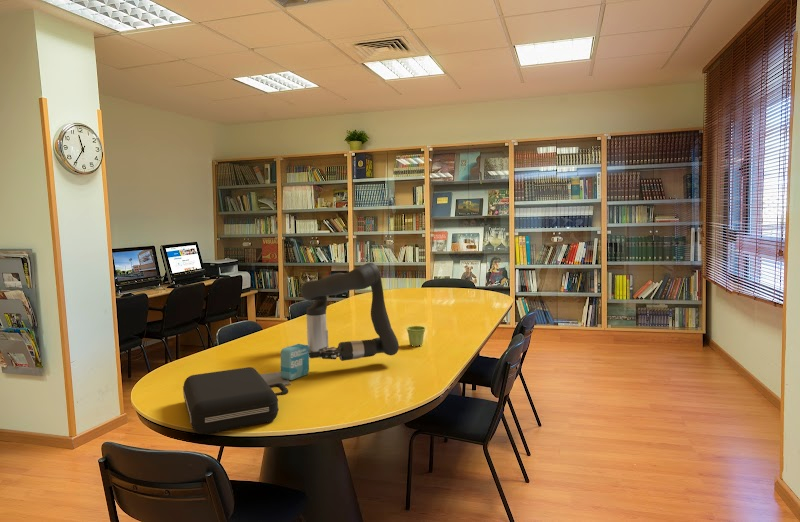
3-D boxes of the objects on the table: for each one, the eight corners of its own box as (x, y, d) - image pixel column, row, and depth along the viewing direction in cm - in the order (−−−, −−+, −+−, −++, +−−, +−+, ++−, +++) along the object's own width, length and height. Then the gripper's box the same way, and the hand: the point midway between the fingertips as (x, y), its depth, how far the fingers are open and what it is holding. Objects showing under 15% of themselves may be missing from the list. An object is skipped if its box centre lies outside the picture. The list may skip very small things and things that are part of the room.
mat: (282, 372, 216) (281, 371, 216) (290, 384, 200) (290, 383, 200) (246, 377, 211) (246, 376, 211) (252, 390, 194) (252, 389, 194)
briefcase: (301, 419, 165) (299, 388, 164) (192, 440, 151) (190, 406, 150) (274, 387, 197) (273, 361, 197) (183, 402, 184) (181, 374, 183)
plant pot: (429, 344, 259) (428, 326, 258) (421, 348, 251) (421, 330, 250) (411, 342, 263) (411, 325, 262) (403, 347, 255) (403, 329, 254)
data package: (289, 381, 203) (289, 350, 202) (280, 379, 205) (280, 348, 204) (309, 373, 213) (309, 344, 213) (300, 372, 216) (300, 343, 215)
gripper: (346, 338, 223) (305, 342, 217) (355, 344, 211) (313, 349, 205) (346, 355, 224) (306, 360, 217) (356, 363, 212) (313, 368, 205)
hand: (309, 355), depth 211 cm, fingers closed
